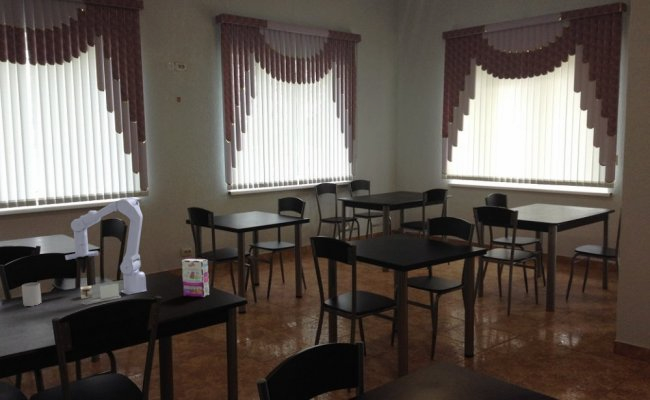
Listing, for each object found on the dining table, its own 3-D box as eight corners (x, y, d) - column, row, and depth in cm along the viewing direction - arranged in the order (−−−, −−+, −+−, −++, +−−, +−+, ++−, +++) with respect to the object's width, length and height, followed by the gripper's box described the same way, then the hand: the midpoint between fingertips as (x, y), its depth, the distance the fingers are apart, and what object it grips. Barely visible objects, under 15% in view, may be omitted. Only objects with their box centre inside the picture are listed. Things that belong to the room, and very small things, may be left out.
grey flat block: (118, 295, 271) (117, 283, 270) (119, 295, 270) (118, 283, 269) (100, 298, 266) (99, 286, 265) (101, 299, 265) (100, 286, 264)
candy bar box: (210, 294, 271) (208, 259, 269) (203, 297, 266) (202, 261, 264) (189, 293, 275) (187, 257, 273) (182, 295, 270) (180, 260, 269)
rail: (118, 296, 272) (118, 295, 272) (121, 297, 270) (121, 296, 270) (83, 303, 261) (83, 302, 261) (85, 305, 260) (85, 303, 260)
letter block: (91, 295, 276) (91, 285, 276) (92, 297, 272) (91, 288, 272) (81, 296, 275) (80, 286, 274) (81, 299, 270) (80, 289, 270)
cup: (24, 307, 258) (22, 287, 257) (21, 302, 267) (19, 283, 266) (42, 304, 262) (41, 284, 261) (39, 300, 270) (37, 280, 270)
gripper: (93, 240, 288) (95, 268, 289) (62, 245, 278) (64, 273, 280) (99, 242, 282) (101, 270, 284) (67, 246, 273) (69, 276, 274)
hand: (83, 272), depth 281 cm, fingers closed
